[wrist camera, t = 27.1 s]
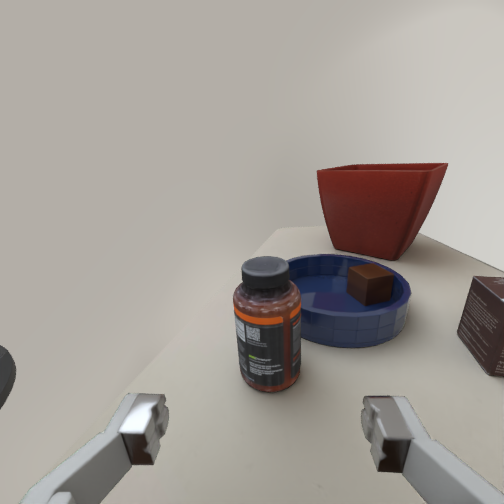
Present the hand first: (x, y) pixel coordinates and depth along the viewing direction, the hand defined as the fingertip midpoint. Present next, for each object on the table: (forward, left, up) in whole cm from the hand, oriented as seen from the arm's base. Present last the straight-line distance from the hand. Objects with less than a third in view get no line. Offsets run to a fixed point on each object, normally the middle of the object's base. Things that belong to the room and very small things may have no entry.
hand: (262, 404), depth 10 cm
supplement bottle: (+5, +11, -10) cm, 16 cm away
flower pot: (+40, +33, -10) cm, 53 cm away
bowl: (+18, +18, -10) cm, 27 cm away
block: (+23, +16, -10) cm, 30 cm away
